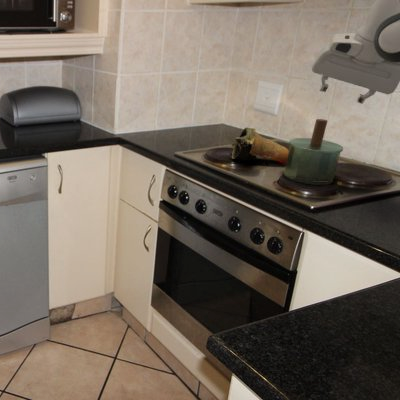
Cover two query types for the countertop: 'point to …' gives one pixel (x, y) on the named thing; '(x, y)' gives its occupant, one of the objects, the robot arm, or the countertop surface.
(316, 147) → the tin lid
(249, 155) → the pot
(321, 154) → the tin
